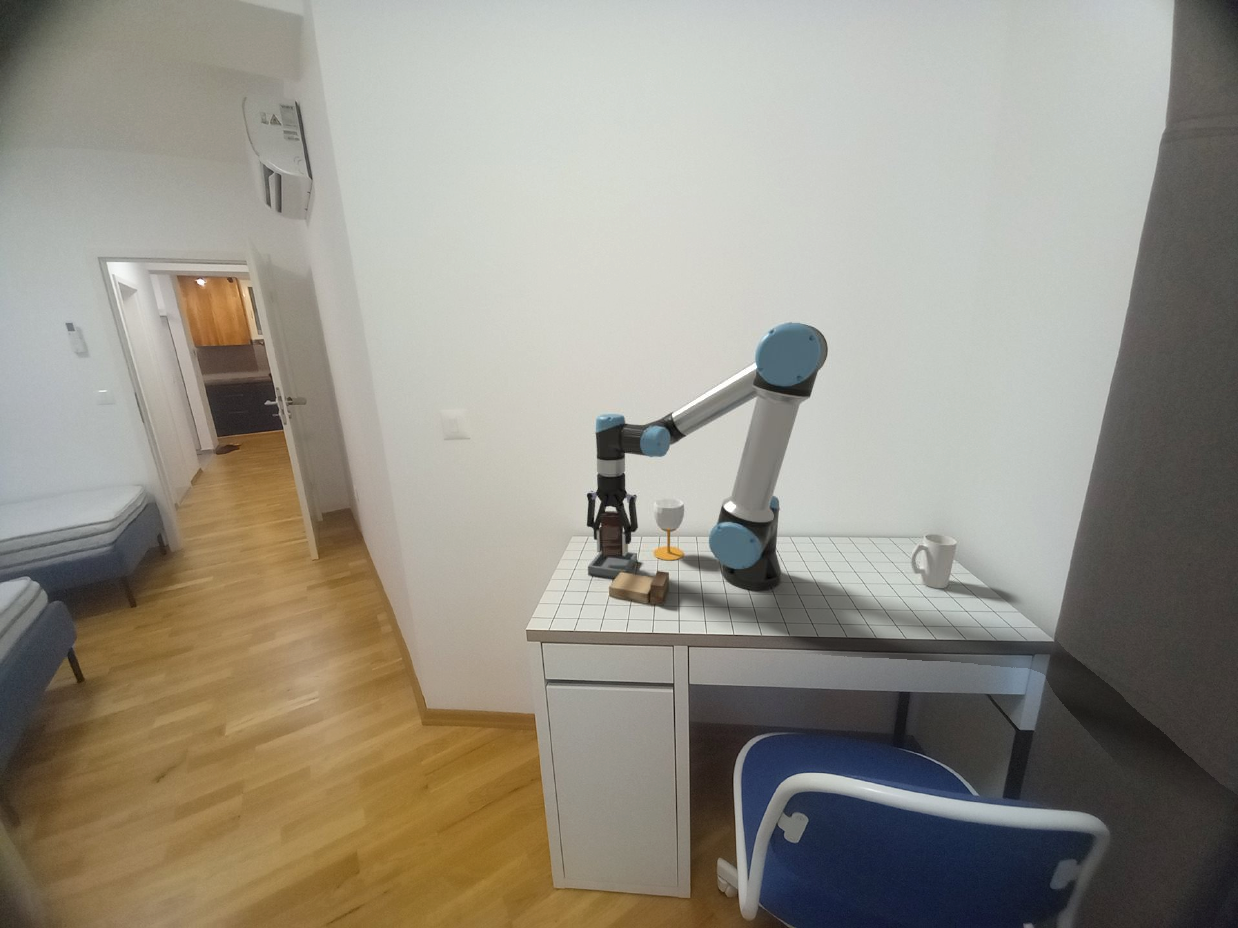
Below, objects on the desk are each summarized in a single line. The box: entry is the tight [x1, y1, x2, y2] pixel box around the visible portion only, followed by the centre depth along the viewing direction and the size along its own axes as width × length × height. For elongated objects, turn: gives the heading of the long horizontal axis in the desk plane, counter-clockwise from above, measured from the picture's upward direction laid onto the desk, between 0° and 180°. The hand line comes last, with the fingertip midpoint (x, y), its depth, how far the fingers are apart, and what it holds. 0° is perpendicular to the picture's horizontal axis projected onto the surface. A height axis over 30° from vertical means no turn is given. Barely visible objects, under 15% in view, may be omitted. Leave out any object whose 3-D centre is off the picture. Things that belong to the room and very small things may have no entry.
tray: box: [587, 551, 638, 580], centre depth 125 cm, size 11×12×2 cm
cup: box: [653, 497, 685, 561], centre depth 132 cm, size 9×9×16 cm
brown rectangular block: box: [649, 570, 670, 606], centre depth 110 cm, size 3×7×5 cm, turn 162°
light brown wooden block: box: [608, 572, 654, 604], centre depth 113 cm, size 10×8×3 cm
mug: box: [910, 533, 958, 589], centre depth 113 cm, size 10×7×12 cm, turn 91°
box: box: [600, 510, 624, 557], centre depth 123 cm, size 6×4×12 cm
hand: (612, 551), depth 125 cm, fingers closed on box, 7 cm apart
